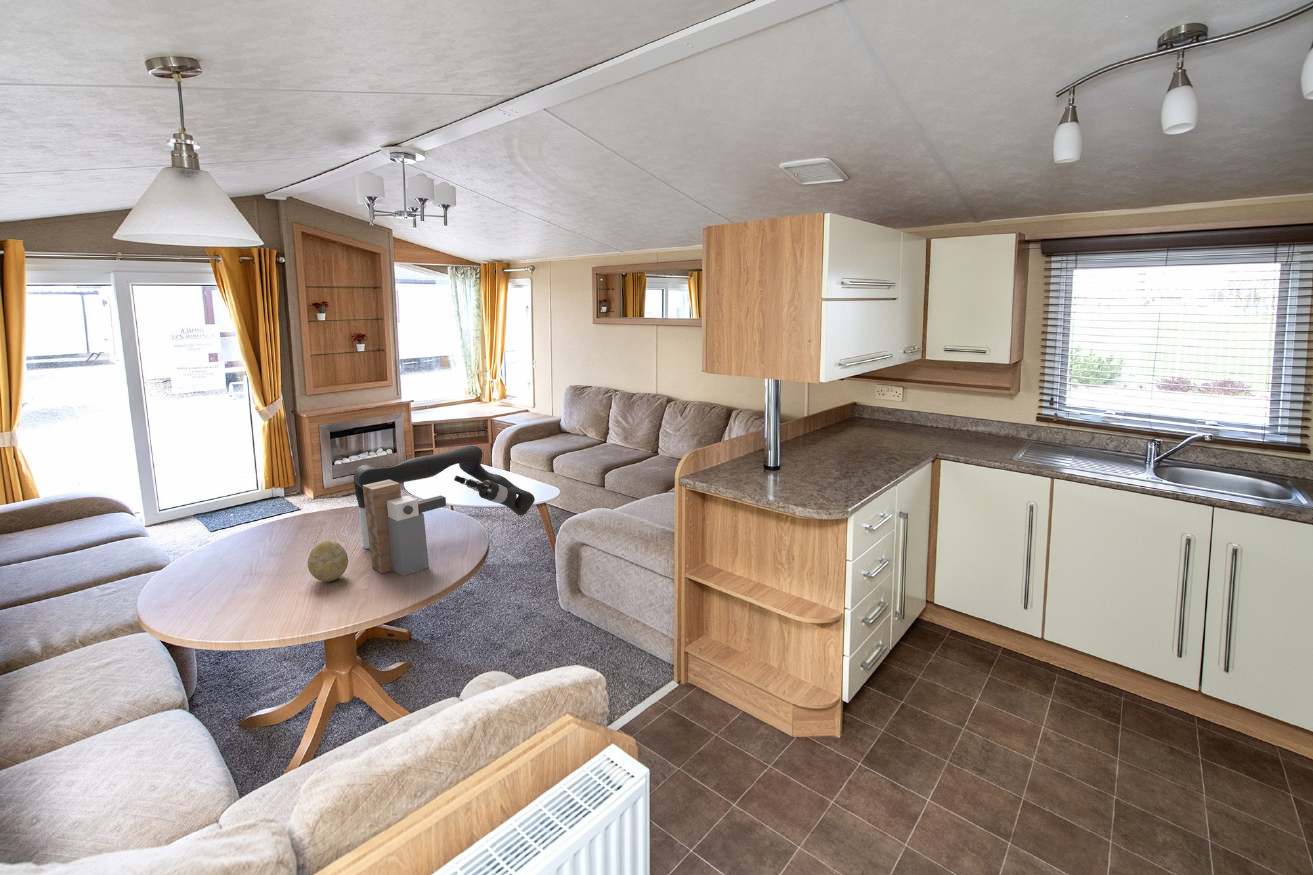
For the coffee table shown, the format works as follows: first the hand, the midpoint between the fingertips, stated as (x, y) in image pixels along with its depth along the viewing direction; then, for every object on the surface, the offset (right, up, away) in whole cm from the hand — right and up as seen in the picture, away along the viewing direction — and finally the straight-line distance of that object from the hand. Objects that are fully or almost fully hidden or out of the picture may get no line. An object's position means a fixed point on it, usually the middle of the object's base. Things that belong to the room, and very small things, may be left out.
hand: (461, 479), depth 243 cm
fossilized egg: (-41, -35, -19) cm, 57 cm away
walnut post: (-24, -32, -8) cm, 41 cm away
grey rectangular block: (-15, -32, -10) cm, 37 cm away
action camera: (-12, -11, -12) cm, 20 cm away
